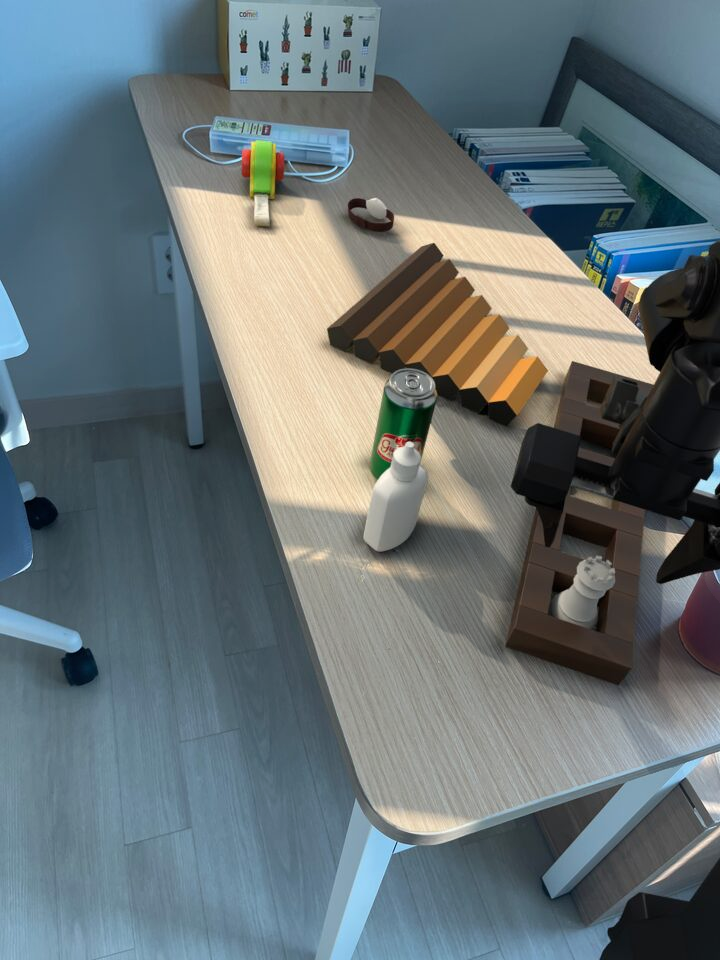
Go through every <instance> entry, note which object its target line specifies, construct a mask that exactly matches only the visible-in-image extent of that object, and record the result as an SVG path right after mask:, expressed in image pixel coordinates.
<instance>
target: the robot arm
mask: <svg viewBox="0 0 720 960" xmlns="http://www.w3.org/2000/svg"><path fill="white" fill-rule="evenodd" d="M707 252H708V254H707V255H708V256H704V255H695V254H690V255H689V256H688V258H687V260H686V262H685V264H684V266H683V267H682V268H677V269H674V270H670V271H668V272H666V273H662V275H659V276H658V277H657V278H655V279H654V280H653V281H652V282H650V284H649V285H648V286H647V287H645V288H644V289H643V291H642V292H641V295H640V298H639V301H638V314H639V319H640V324H641V328H642V333H643V336H644V337H643V338H644V342H645V347H646V352H647V356H648V357H647V358H648V362H649V364H650V366H651V367H653V368H654V369H655V370H656V371H658V372H659V374H658V376H657V378H656V380H655V382H654V383H653V387H652V389H651V391H650V392H647V391H644V390H639V388H638V386H637V382H636V381H633V380H629V379H626V378H622V377H619V376H615V377H614V379H613V381H612V383H611V385H610V387H609V389H608V391H607V393H606V395H605V398H604V401H603V403H602V404H601V407H600V409H601V417H602V419H604V420H608V421H611V422H614V423H618V424H619V428H621V429H620V431H619V433H618V434H617V436H616V438H615V440H614V442H613V448H612V449H611V454H613V455H616V456H615V457H614V458H615V460H614V462H613V464H612V466H607V465H604V464H601V463H598V462H594V461H591V460H588V459H585V458H582V457H578V450H579V448H580V445H581V440H582V439H581V436H580V435H576V434H573V433H570V432H566V431H563V430H560V429H557V428H554V426H550V425H546V424H543V423H541V422H540V423H539V422H537V423H535V424H532V425H531V426H529V427H528V428H527V429H526V432H525V434H524V436H523V440H522V442H521V445H520V449H519V452H518V457H517V460H516V465H515V468H514V472H513V476H512V479H511V483H510V488H511V489H512V490H513V492H514V493H515V494H516V495H518V496H521V497H524V501H525V503H526V504H527V505H529V506H531V507H534V508H535V509H536V508H537V511H538V513H539V516H540V519H541V521H542V525H543V532H544V542H545V547H548V548H550V546H551V545H552V544H553V542H554V540H555V537H556V533H557V530H558V527H559V523H560V520H561V517H562V514H563V510H564V504H565V499H566V496H567V494H568V491H569V488H570V489H571V487H572V488H575V489H579V490H581V491H585V492H588V493H591V494H595V495H598V496H601V497H604V498H607V499H610V500H612V499H613V500H616V501H619V502H622V503H625V504H629V505H632V506H635V507H638V508H641V509H645V511H648V512H651V513H655V514H658V515H660V516H665V517H667V518H670V519H673V520H677V521H681V520H682V519H683V518H684V517H685V518H687V519H691V520H693V522H692V524H691V525H690V527H689V529H688V530H687V531H686V532H685V534H684V535H683V536H682V537H681V538H680V540H679V541H678V542H677V543H676V544H675V546H674V547H673V548H672V550H671V551H670V552H669V554H667V556H666V557H665V558H664V560H663V561H662V563H661V565H660V567H659V568H658V570H657V572H656V576H655V579H656V580H655V583H656V584H659V585H663V584H667V583H669V582H674V581H676V580H680V579H683V578H687V577H690V576H693V575H694V576H695V575H698V574H704V573H708V572H713V571H719V570H720V482H718V484H717V486H716V487H715V488H714V493H712V492H711V493H710V492H708V491H704V490H701V489H698V488H696V487H697V486H698V484H699V483H700V481H706V482H708V480H709V478H710V477H711V476H712V474H713V473H714V471H715V458H716V457H717V456H718V454H719V452H720V238H719V239H717V240H716V241H715V242H713V243H712V244H711V245H709V246H708V251H707ZM570 486H571V487H570ZM606 930H607V931H606V934H607V937H608V939H609V942H608V943H607V944H606V945H605V947H604V949H602V951H601V954H600V956H599V960H720V857H719V858H718V859H717V861H716V862H715V864H714V865H713V867H712V868H711V869H710V871H709V872H708V874H706V876H705V878H704V879H703V880H702V882H701V884H699V887H698V888H697V889H696V891H695V892H694V894H693V895H692V897H691V898H690V899H689V900H685V899H679V898H674V897H668V896H665V895H664V896H663V895H658V894H652V893H647V892H643V891H640V892H637V893H636V894H635V895H633V896H632V897H630V898H629V899H628V900H627V902H626V903H625V906H624V908H623V911H622V913H621V915H620V917H619V919H618V921H617V922H616V923H615V924H614V925H613V926H610V927H607V929H606Z"/></svg>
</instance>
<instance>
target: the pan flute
mask: <svg viewBox="0 0 720 960" xmlns="http://www.w3.org/2000/svg"><path fill="white" fill-rule="evenodd" d="M443 258H444V254H443V253H442V251H441V249H440V248H439V247H438V246H437V244H436V243H435V242H432V243H428V244H424V245H421V246H420V247H419V248H418V249H416V251H414V252H413V253H412V254H411V255H410V256H408V257H407V258H406V259H405V260H404V261H402V263H401V264H399V265H398V266H397V267H396V268H394V270H392V271H391V272H390V273H389V274H387V276H386V277H385V278H383V279H382V280H381V281H380V282H379V283H378V284H376V285H375V286H374V287H373V288H371V290H369V291H368V292H367V293H366V294H365V295H364V296H362V297H361V298H360V299H359V300H358V301H357V302H356V303H355V304H354V305H352V306H351V307H350V308H349V309H348V310H347V311H345V312H344V313H343V314H342V315H341V316H339V318H337V319H336V320H334V322H333V323H332V324H331V325H329V326H328V327H327V328H326V331H327V337H328V342H329V346H331V347H333V348H335V349H338V350H339V351H342V352H344V353H346V352H348V351H349V350H350V349H351V348H352V347H353V352H354V358H356V359H359V360H361V361H363V362H366V363H368V364H370V365H372V364H373V363H374V362H375V361H376V360H377V359H379V365H380V366H379V367H380V369H381V370H383V371H385V372H387V373H390V374H391V375H392V374H393V373H394V372H396V371H397V370H400V369H406V368H410V369H417V370H420V371H423V372H425V373H426V374H428V375H429V376H430V377H431V378H432V379H433V380H434V382H435V387H436V388H435V389H436V391H437V396H439V397H441V398H443V399H445V400H448V401H450V402H451V401H452V400H453V399H454V398H455V396H456V395H457V394H458V393H459V397H460V398H459V399H460V406H461V407H462V408H465V409H467V410H469V411H472V412H474V413H476V414H479V413H481V411H482V410H484V408H485V407H486V405H487V406H488V409H487V410H488V419H489V420H490V421H493V422H494V423H498V424H499V425H502V426H504V427H506V428H507V427H508V426H509V425H510V424H511V423H512V422H513V421H514V420H515V419H516V418H517V416H518V415H519V414H520V413H521V411H522V410H523V408H524V406H525V405H526V404H527V403H528V401H529V399H530V398H531V397H532V395H533V394H534V392H535V391H536V389H537V388H538V386H539V385H540V384H541V382H542V381H543V379H544V378H545V376H546V374H547V373H548V372H549V369H548V368H547V367H546V365H545V363H544V362H543V361H542V360H541V358H540V357H539V356H537V355H536V356H530V357H524V355H525V354H526V353H527V352H528V350H529V347H528V346H527V345H526V343H525V342H524V340H523V339H522V338H521V336H520V335H519V334H514V335H507V336H505V335H506V334H507V332H508V331H509V330H510V326H509V325H508V323H507V322H506V321H505V319H504V318H503V317H502V315H501V314H500V313H499V314H494V315H489V314H490V312H491V311H492V309H493V308H492V306H491V305H490V304H489V302H488V301H487V300H486V299H485V297H484V296H483V294H480V295H476V296H472V295H473V294H474V292H475V291H476V289H475V288H474V286H473V285H472V283H470V281H469V280H468V278H467V277H466V276H462V277H458V275H459V274H460V272H459V270H458V269H457V267H456V266H455V265H454V263H453V261H451V259H450V258H448V259H445V260H442V259H443ZM457 277H458V278H457Z"/></svg>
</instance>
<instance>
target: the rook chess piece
mask: <svg viewBox="0 0 720 960" xmlns="http://www.w3.org/2000/svg"><path fill="white" fill-rule="evenodd" d="M585 559H586V560H583V561H582V562H580V563H579V565H578V566H577V574H576V576H575V577H574V584H573V585H572V586H571V587H570V588H569V589H567V590H565V591H562V592H560V593H559V594H558V593H556V595H554V596H553V597H552V599H551V600H550V603H549V608H548V613H547V615H549V616H552V617H555V618H558V619H561V620H564V621H567V622H570V623H573V624H576V625H579V626H582V627H585V628H588V629H591V630H594V631H595V629H596V625H597V621H598V607H597V603H598V600H599V598H601V597H602V596H604V595H605V592H606V590H609V589H610V588H612V587H613V585H614V583H615V575H614V574H615V568H610V566H611V565H612V563H611V562H610V561H609V560H607V561H606V562H605V561H603V560H602V559H603V556H601V555H595V557H594V558H593V557H592V555H591V556H588V557H587V558H585Z"/></svg>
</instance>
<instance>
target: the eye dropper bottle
mask: <svg viewBox="0 0 720 960" xmlns="http://www.w3.org/2000/svg"><path fill="white" fill-rule="evenodd" d="M420 461H421V462H422V459H421V456H420V454H419V452H418V451H417V450H415V449H414V444H413V443H412V442H407V443H406V444H405V446H404V447H400V448H398V449H396V450H395V451H394V453H393V458H392V462H391V467H390V468H389V469H387V470H386V471H385V472H384V473H383V474H382V475H381V476H380V478H379V479H378V480H376V482H375V484H374V486H373V489H372V492H371V497H370V501H369V506H368V512H367V517H366V520H365V526H364V530H363V531H364V532H363V538H362V539H363V541H364V542H365V543H366V544H367V545H368V546H369V547H370V548H372V549H373V550H374V551H376V552H377V553H378V552H379V553H381V552H386V551H390V550H392V549H395V548H396V547H399V546H400V545H402V544H404V542H405V541H406V540H407V539H408V538H409V537H410V536H411V535H412V533H413V531H414V530H415V528H416V525H417V521H418V518H419V514H420V511H421V507H422V503H423V499H424V495H425V493H426V488H427V483H428V480H429V479H428V478H429V476H428V475H429V474H428V472H427V470H426V469H425V468H424V467H423V466H421V463H420Z"/></svg>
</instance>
